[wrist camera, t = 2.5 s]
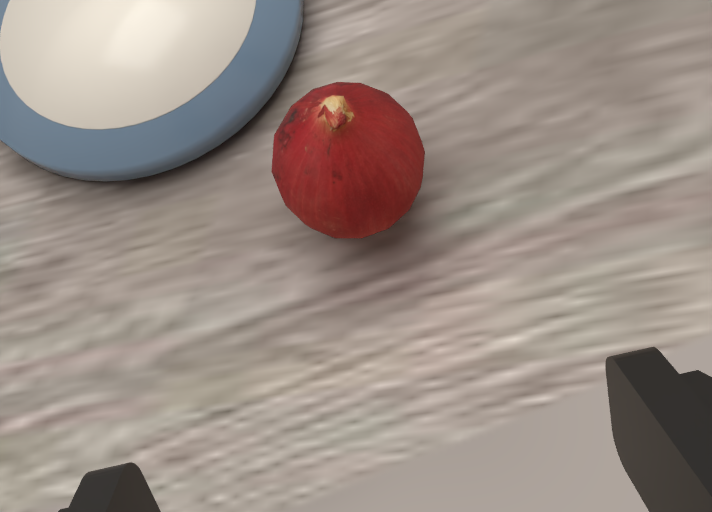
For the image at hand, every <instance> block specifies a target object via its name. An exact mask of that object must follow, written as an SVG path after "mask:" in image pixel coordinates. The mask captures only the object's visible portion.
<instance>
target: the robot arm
mask: <svg viewBox="0 0 712 512" xmlns="http://www.w3.org/2000/svg"><path fill="white" fill-rule="evenodd" d="M606 377H607V386H608V396H609V405H610V413H611V423H612V431H613V437H614V442H615V445H616V448H617V452H618V455H619V457H620V460H621V462H622V465H623V467H624V469H625V471H626V472H627V474H628V476H629V478H630V479H631V481H632V483H633V484H634V486H635V488H636V490H637V491H638V493H639V494H640V496H641V498H642V500H643V502H644V503H645V505H646V507H647V508H648V510H649V512H712V377H710V376H708V375H706V374H704V373H702V372H701V371H699V370H696V371H692V372H687V373H683V374H679V373H678V372H677V371H676V370H675V369H674V367H673V366H672V365H671V364H670V363H669V362H668V360H667V359H666V358H665V357H664V356H663V355H662V353H661V352H660V351H659V350H658V349H657V348H655V347H650V348H646V349H641V350H637V351H632V352H628V353H623V354H619V355H614V356H610V357H607V359H606ZM58 512H161V511H160V509H159V507H158V505H157V503H156V501H155V499H154V497H153V495H152V493H151V491H150V489H149V487H148V484H147V482H146V480H145V478H144V476H143V474H142V472H141V470H140V469H139V467H138V466H137V465H136V464H134V463H126V464H122V465H117V466H113V467H108V468H104V469H99V470H95V471H91V472H88V473H86V474H85V476H84V477H83V479H82V480H81V483H80V485H79V487H78V489H77V491H76V493H75V495H74V497H73V499H72V502H71V504H70V506H69V508H65V509H60V510H59V511H58Z"/></svg>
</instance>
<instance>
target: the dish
mask: <svg viewBox="0 0 712 512" xmlns="http://www.w3.org/2000/svg"><path fill="white" fill-rule="evenodd" d="M302 23H303V0H0V140H1V141H3V142H4V143H5V144H6V145H8V146H9V147H10V148H11V149H13V150H14V151H15V152H17V153H18V154H19V155H21V156H22V157H23V158H24V159H26V160H27V161H29V162H31V163H33V164H35V165H36V166H38V167H40V168H42V169H44V170H47V171H50V172H52V173H55V174H58V175H61V176H65V177H70V178H75V179H80V180H89V181H120V180H131V179H136V178H141V177H146V176H151V175H155V174H158V173H161V172H164V171H167V170H171V169H174V168H176V167H179V166H181V165H183V164H185V163H188V162H190V161H192V160H194V159H197V158H198V157H200V156H202V155H204V154H205V153H207V152H209V151H210V150H212V149H214V148H216V147H217V146H219V145H220V144H222V143H223V142H224V141H226V140H227V139H228V138H230V137H231V136H232V135H234V134H235V133H236V132H238V131H239V130H240V129H241V128H242V127H243V126H244V125H245V124H246V123H248V122H249V121H250V120H251V119H252V118H253V117H254V116H255V115H256V114H257V113H258V112H259V110H260V109H261V108H262V107H263V106H264V105H265V103H266V102H267V101H268V100H269V99H270V98H271V96H272V95H273V93H274V92H275V90H276V89H277V87H278V86H279V84H280V83H281V81H282V80H283V78H284V76H285V74H286V72H287V70H288V68H289V66H290V64H291V62H292V60H293V57H294V54H295V51H296V48H297V45H298V42H299V39H300V33H301V28H302Z"/></svg>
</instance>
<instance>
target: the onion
mask: <svg viewBox="0 0 712 512" xmlns="http://www.w3.org/2000/svg"><path fill="white" fill-rule="evenodd" d="M424 155H425V151H424V148H423V144H422V141H421V139H420V136H419V134H418V131H417V128H416V126H415V123H414V121H413V118H412V117H411V116H410V114H409V113H408V112H407V111H406V110H405V109H404V108H403V107H402V106H401V105H400V104H398V103H397V102H396V101H395V100H394V99H393V98H392V97H391V96H390V95H389V94H387V93H385V92H383V91H380V90H377V89H375V88H372V87H370V86H367V85H364V84H362V83H347V82H336V83H332V84H329V85H325V86H322V87H319V88H315V89H313V90H311V91H310V92H309V93H307V94H306V95H305V96H304V97H302V98H301V99H300V100H298V101H297V102H296V103H295V104H293V105H292V106H291V108H290V109H289V111H288V113H287V114H286V116H285V118H284V119H283V121H282V123H281V125H280V126H279V128H278V130H277V131H276V133H275V135H274V144H273V159H272V174H273V176H274V179H275V181H276V183H277V186H278V188H279V191H280V193H281V196H282V198H283V200H284V203H285V205H286V206H287V207H288V208H289V209H290V210H291V211H292V212H293V213H294V214H295V215H296V216H297V217H298V218H299V219H300V220H301V221H302V222H303V223H304V224H306V225H307V226H309V227H310V228H312V229H314V230H317V231H319V232H321V233H324V234H326V235H329V236H331V237H334V238H364V237H367V236H369V235H372V234H375V233H378V232H380V231H383V230H386V229H389V228H390V227H391V226H392V225H393V224H394V223H395V222H396V221H397V220H399V219H400V218H401V217H402V216H403V215H404V214H405V213H406V212H408V211H409V209H410V207H411V205H412V203H413V201H414V199H415V197H416V195H417V193H418V191H419V190H420V188H421V183H422V177H423V167H424Z"/></svg>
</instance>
